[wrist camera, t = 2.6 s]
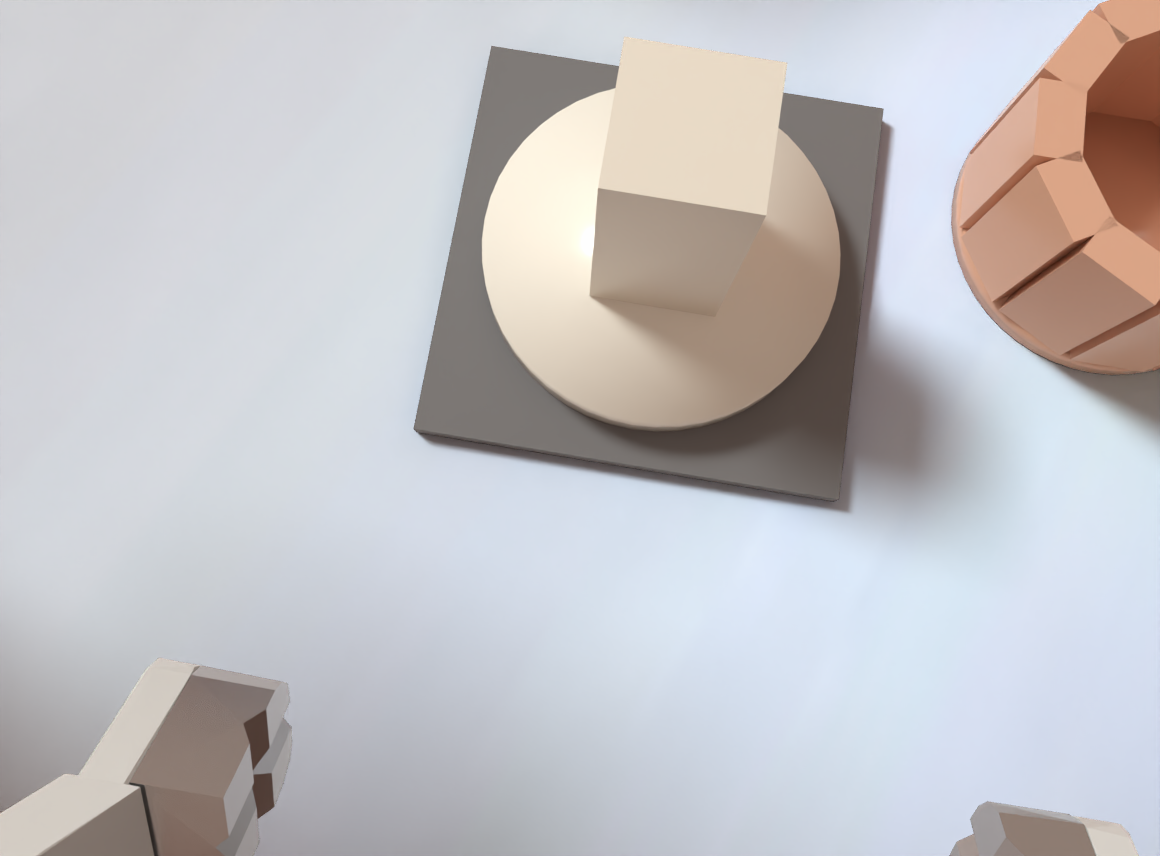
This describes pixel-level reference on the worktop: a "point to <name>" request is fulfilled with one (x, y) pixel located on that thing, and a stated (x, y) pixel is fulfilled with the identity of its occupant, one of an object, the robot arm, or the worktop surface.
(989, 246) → the bowl
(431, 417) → the rubber mat
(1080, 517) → the worktop surface
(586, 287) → the lid
